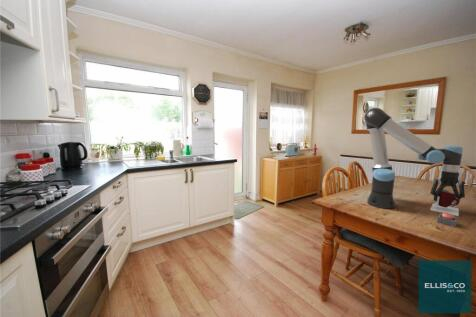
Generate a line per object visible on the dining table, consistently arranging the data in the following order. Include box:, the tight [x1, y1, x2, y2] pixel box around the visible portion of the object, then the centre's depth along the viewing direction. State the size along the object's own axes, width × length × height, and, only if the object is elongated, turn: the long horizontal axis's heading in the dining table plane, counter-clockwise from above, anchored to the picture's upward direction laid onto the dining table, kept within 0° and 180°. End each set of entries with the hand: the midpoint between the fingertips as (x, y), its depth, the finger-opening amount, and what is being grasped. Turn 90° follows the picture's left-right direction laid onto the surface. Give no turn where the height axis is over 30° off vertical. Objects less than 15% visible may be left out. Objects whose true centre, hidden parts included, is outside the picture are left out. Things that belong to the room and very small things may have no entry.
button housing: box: [436, 213, 458, 228], centre depth 108 cm, size 7×7×3 cm
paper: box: [429, 203, 460, 217], centre depth 127 cm, size 16×12×1 cm
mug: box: [438, 188, 460, 208], centre depth 126 cm, size 11×8×10 cm
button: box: [441, 213, 455, 220], centre depth 108 cm, size 4×4×2 cm
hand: (445, 206), depth 127 cm, fingers closed on mug, 8 cm apart
